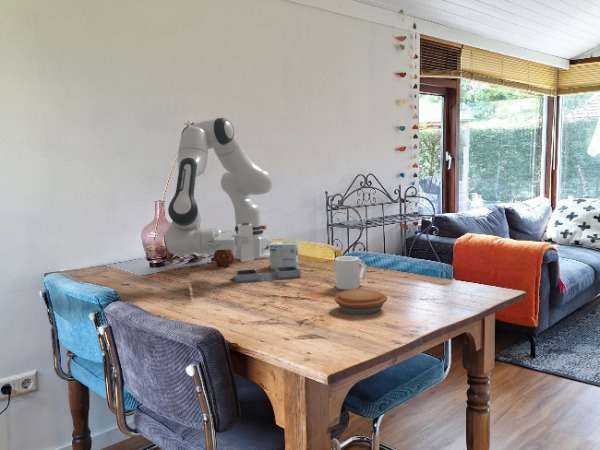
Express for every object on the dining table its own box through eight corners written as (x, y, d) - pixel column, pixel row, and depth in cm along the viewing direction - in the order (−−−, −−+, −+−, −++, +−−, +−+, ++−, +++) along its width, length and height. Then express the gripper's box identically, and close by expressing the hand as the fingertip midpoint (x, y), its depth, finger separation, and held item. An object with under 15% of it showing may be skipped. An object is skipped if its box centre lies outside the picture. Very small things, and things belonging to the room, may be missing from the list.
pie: (353, 299, 177) (352, 284, 176) (397, 307, 167) (396, 290, 166) (324, 311, 165) (323, 295, 164) (369, 320, 155) (369, 302, 154)
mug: (344, 290, 188) (344, 261, 186) (330, 285, 195) (329, 258, 194) (373, 285, 194) (373, 257, 192) (358, 281, 201) (358, 253, 200)
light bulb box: (298, 267, 228) (297, 241, 226) (297, 271, 221) (296, 244, 219) (272, 267, 229) (271, 241, 227) (270, 271, 222) (269, 244, 221)
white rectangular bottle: (241, 261, 202) (239, 223, 200) (240, 259, 206) (238, 222, 205) (254, 260, 203) (252, 223, 201) (252, 258, 207) (250, 221, 206)
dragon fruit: (228, 272, 230) (217, 271, 240) (242, 257, 234) (230, 258, 244) (215, 257, 228) (204, 257, 238) (229, 242, 231) (218, 243, 241)
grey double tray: (236, 286, 199) (236, 276, 198) (232, 279, 210) (232, 269, 210) (302, 280, 204) (302, 271, 204) (295, 273, 216) (295, 265, 215)
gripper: (206, 236, 192) (247, 234, 193) (211, 227, 212) (248, 226, 213) (208, 255, 193) (248, 252, 194) (212, 244, 213) (249, 242, 214)
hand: (248, 238), depth 204 cm, fingers closed on white rectangular bottle, 5 cm apart
